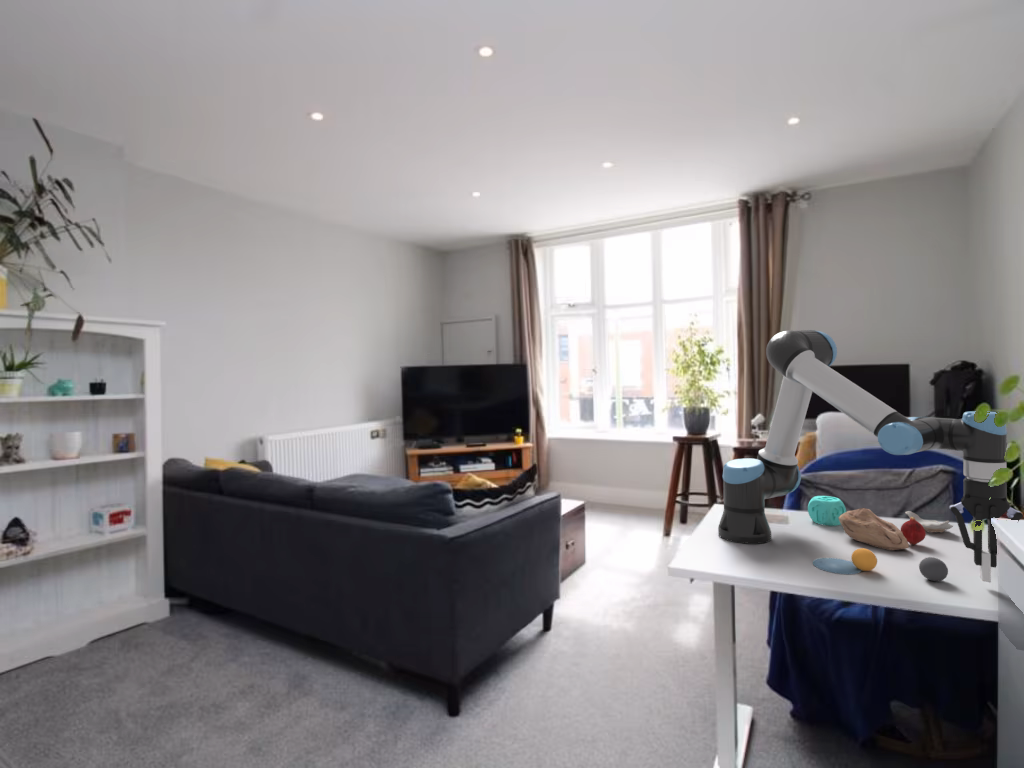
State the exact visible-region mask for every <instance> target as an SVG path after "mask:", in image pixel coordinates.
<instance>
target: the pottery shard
mask: <svg viewBox="0 0 1024 768" xmlns="http://www.w3.org/2000/svg"><path fill="white" fill-rule="evenodd" d="M904 513H905V515H907V516H908V517H909V520H910V519H911V517H914V518H915V520H916V521H917V522H919V523H920V524H921V525H922V526H923V527H924V529H925V532H927V533H930V534H931V533H944V532H945V531H947V530H950V529H952V528H953V527H954V525H952V524H950V523H949V522H950V521H949V520H946V521H945V520H944V521H943V522H941V523H940V522H939V521H938V520H928V519H923V518H921V517H920V516H919V515H918V514H916V513H915V512H912V511H911V510H908V511H905V512H904Z"/></svg>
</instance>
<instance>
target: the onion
mask: <svg viewBox="0 0 1024 768" xmlns="http://www.w3.org/2000/svg"><path fill="white" fill-rule="evenodd" d="M900 531H901V532H902V533H903V535H904V537H905V538H906V539H907V542H908V544H910V545H913V546H914V545H917V544H919V543H921V542H922V541H924V539H926V535H927V533H926V532H927V531H925V529H924V527H923V526H922V525H921V524H920V523H919V522H917V521H916V520H915V518H914V517H911V519H910V518H909V520H906V521H905V522H904V523H902V525H901V527H900Z"/></svg>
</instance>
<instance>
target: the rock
mask: <svg viewBox="0 0 1024 768" xmlns="http://www.w3.org/2000/svg"><path fill="white" fill-rule="evenodd" d="M838 518H839V521H840V523H841V524H840V525H841V526H842V527H843V531H844V533H845V534H846V535H847V536H848V537H850V538H852V539H853V540H855V541H858V542H860V543H863V544H867V545H869V546H873V547H876V548H879V549H883V550H888V551H895V550H897V551H898V550H906V549H909V547H910V546H909V542H907V539H906V538H905V537H904V535H903V533H902V532H901V529H900V528H899V527H897V525H895V524H894V523H893V522H890V521H888V520H885V519H883V518H881V517H879V516H877V515H876V514H875V513H874V512H873V511H872V510H871V509H870V508H866V507H860V508H857V509H854V510H846V512H845V513H843V514H842V515H840V516H839V517H838Z"/></svg>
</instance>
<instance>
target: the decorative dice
mask: <svg viewBox="0 0 1024 768" xmlns="http://www.w3.org/2000/svg"><path fill="white" fill-rule="evenodd" d="M845 512H847V509H846V506H845V504H844V502H843V500H841V499H840V498H838V497H835V496H829V495H816V496H813V497H812V498H811V499H810V500H809V502H808V505H807V513H808V516H809V518H810V519H811V520H812V522H814V523H815V524H817V523H818V525H822V526H827V525H828V527H829V526H831V527H837V526H840V525H841V523H840V521H839V518H838V517H839V516H840V515H842V514H843V513H845Z"/></svg>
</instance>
